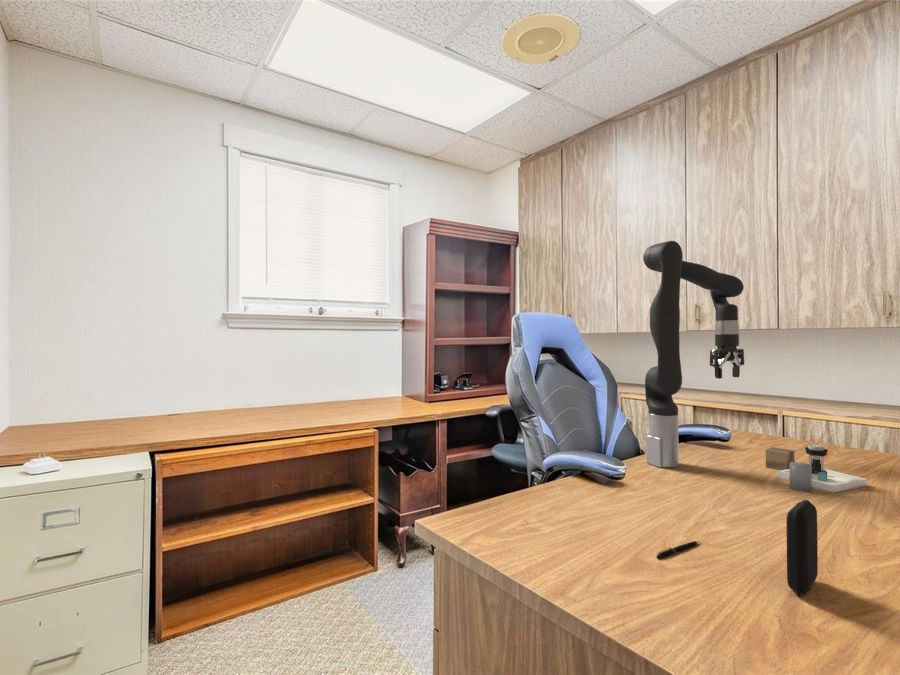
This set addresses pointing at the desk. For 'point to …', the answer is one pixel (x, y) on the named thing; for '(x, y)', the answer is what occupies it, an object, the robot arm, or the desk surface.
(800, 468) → the dark grey cylinder
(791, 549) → the carrying case or bag
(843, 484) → the grey tray
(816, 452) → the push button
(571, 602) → the desk surface
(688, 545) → the fountain pen
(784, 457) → the walnut block
